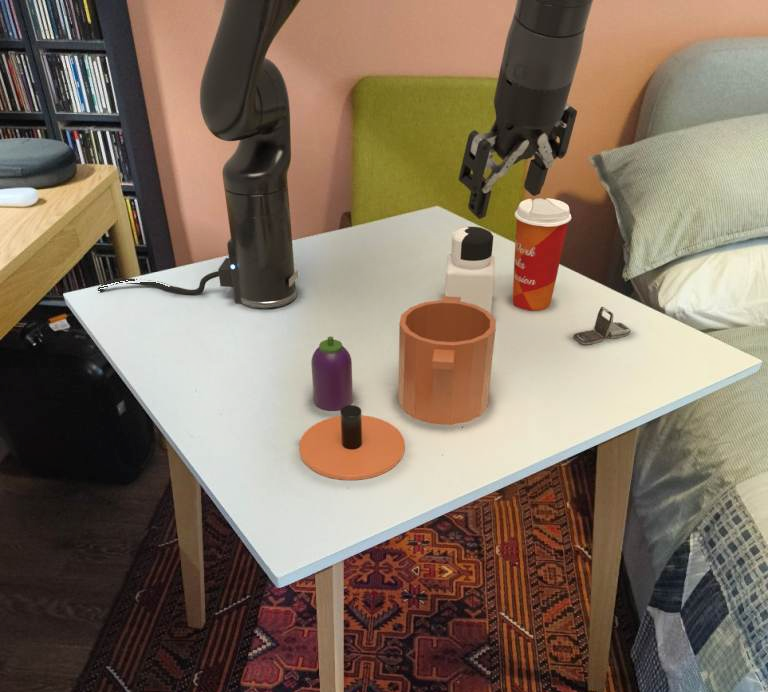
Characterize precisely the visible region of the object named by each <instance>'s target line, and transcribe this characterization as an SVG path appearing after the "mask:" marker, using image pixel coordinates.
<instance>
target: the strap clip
mask: <svg viewBox="0 0 768 692" xmlns="http://www.w3.org/2000/svg"><path fill="white" fill-rule="evenodd" d="M603 312H605V313H607V314H608V315H609V319H608V318H606V317H605V316H604V315H603ZM630 334H631V328H630V327H628V326H627V325H626V324H624V323H623V322H619V321H614V312H612V311H610V310H609V309H607V308H606V307H605V306H601V307H600V308H599V311H598V313H597V315H596V318H595V323H594V326H593V329H591V330H584V331H580V332H576V333H574V334H573V338H574V339H575V340H577V341H578V342H579V343H580V344H582V345H593V344H596V343H597V344H598V343H601V342H603V341H604V339H605V338H607V339H610V340H614V339H619V338H623V337H627V336H628V335H630ZM583 339H584V340H583Z"/></svg>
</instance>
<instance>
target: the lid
mask: <svg viewBox="0 0 768 692" xmlns="http://www.w3.org/2000/svg"><path fill="white" fill-rule="evenodd" d="M298 445H299V447H298V449H299V457H300V458H301V460H302V462H303V463H304V465H305V466H306V467H308V468H309V469H310V470H311V471H313V472H315V473H317V474H319V475H321V476H324V477H327V478H330V479H335V480H341V481H342V480H343V481H359V480H366V479H372V478H375V477H378V476H380V475H383V474H385V473H387V472H388V471H390V470H392V469H394V468H395V467H396V466H397V465H398V464H399V463H400V461H401V460H402V459H403V456H404V454H405V438H404V437H403V435H402V432H401V431H400V430H399V429H398V428H397V427H396V426H394V425H393V424H391V423H390V422H388V421H386V420H384V419H381V418H378V417H374V416H370V415H364V414H362V409H361V407H359V406H357V405H352V404H351V405H349V406H345V407H343V408H342V409H341V410H340V415H338V416H337V415H336V416H333V417H329V418H326V419H323V420H321V421H319V422H317V423H315V424H313V425H312V426H310V427H309V428H308V429H307V430H306V431H305V432H303V434H302V436H301V438H300V441H299V444H298Z"/></svg>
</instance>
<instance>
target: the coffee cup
mask: <svg viewBox="0 0 768 692" xmlns="http://www.w3.org/2000/svg"><path fill="white" fill-rule="evenodd" d="M514 217H515V219H516V223H515V224H516V225H515V243H514V260H513V279H512V304H513V305H514V306H515V307H516V308H519V309H521V310H524V311H530V312H531V311H532V312H536V311H537V312H539V311H543V310H546V309H548V308H549V307H550V305H551V303H552V300H553V296H554V291H555V286H556V281H557V276H558V273H559V267H560V263H561V258H562V253H563V249H564V244H565V239H566V236H567V235H566V234H567V229H568V226H569V225H568V224H569V222H570V221H571V220H572V215H571V213H570V207H569V204H567V203H565V202H564V201H562V200H558V199H556V198H555V199H554V198H549V197H546V198H545V199H544V198H534V199H532V198H527V199H524V200H522V201H520V203H518V206H517V209H516V210H515V212H514Z"/></svg>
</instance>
